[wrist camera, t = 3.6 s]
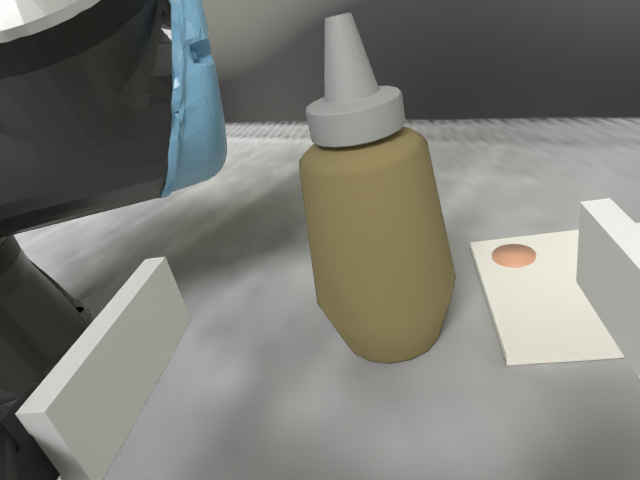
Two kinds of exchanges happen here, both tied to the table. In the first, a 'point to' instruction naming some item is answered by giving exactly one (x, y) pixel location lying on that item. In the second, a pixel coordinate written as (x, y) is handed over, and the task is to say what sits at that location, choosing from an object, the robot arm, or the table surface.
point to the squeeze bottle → (372, 211)
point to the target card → (540, 300)
